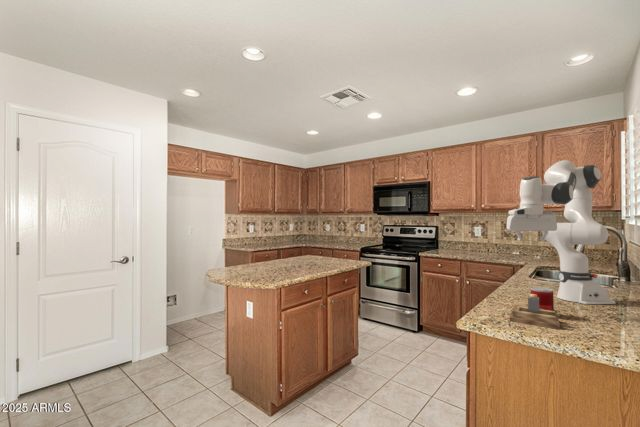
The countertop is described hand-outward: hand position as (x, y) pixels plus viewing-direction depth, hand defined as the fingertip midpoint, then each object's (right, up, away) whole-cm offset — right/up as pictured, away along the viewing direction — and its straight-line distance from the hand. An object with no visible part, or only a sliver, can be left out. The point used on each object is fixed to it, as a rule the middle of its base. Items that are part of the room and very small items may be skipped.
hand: (531, 240), depth 141 cm
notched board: (-12, -31, -19) cm, 38 cm away
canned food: (-3, -31, -10) cm, 33 cm away
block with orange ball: (-12, -30, -18) cm, 37 cm away
